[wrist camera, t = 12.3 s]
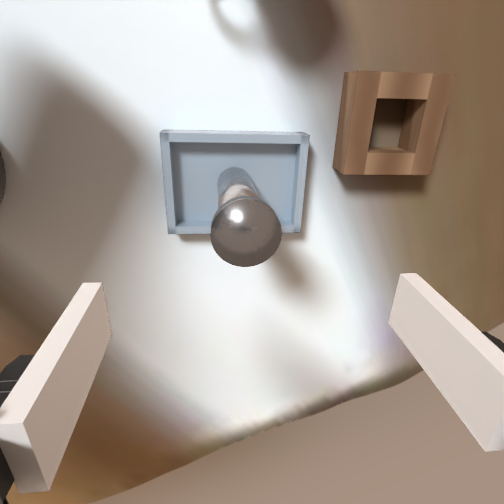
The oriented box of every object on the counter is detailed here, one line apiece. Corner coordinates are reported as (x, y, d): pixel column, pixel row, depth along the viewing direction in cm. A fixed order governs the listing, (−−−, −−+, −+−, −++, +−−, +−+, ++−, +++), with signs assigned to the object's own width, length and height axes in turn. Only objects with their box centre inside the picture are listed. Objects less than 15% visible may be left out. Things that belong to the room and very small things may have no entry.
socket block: (332, 167, 37) (343, 174, 33) (344, 72, 33) (358, 70, 30) (411, 167, 37) (429, 174, 34) (432, 75, 34) (455, 74, 30)
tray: (170, 225, 38) (168, 234, 35) (163, 129, 33) (159, 132, 31) (295, 224, 39) (300, 232, 37) (303, 132, 35) (309, 135, 32)
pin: (207, 164, 34) (205, 205, 22) (255, 158, 35) (279, 195, 22) (215, 209, 36) (216, 271, 24) (259, 203, 37) (284, 261, 24)
